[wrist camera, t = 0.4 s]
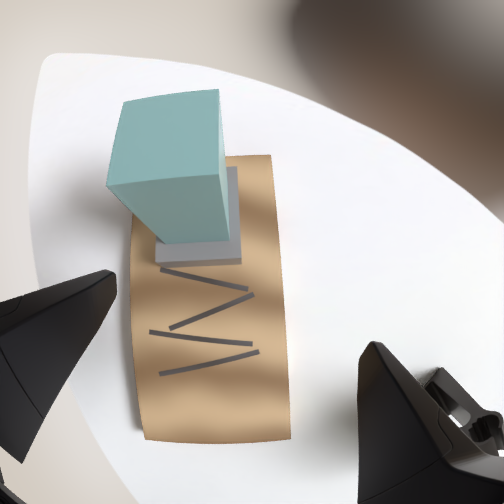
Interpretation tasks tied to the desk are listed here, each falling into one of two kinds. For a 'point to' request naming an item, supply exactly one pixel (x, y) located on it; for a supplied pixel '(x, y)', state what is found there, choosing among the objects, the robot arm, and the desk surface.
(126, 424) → the desk surface
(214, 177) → the block
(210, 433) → the oak board
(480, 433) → the phone stand
